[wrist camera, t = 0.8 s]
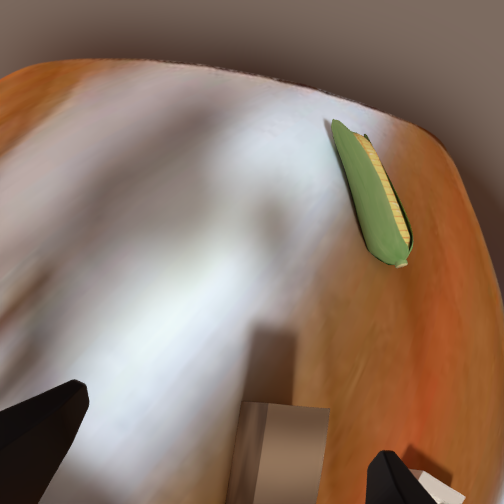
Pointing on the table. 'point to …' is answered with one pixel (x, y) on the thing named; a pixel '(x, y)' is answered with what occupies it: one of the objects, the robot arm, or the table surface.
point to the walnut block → (277, 454)
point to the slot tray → (438, 489)
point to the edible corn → (374, 198)
